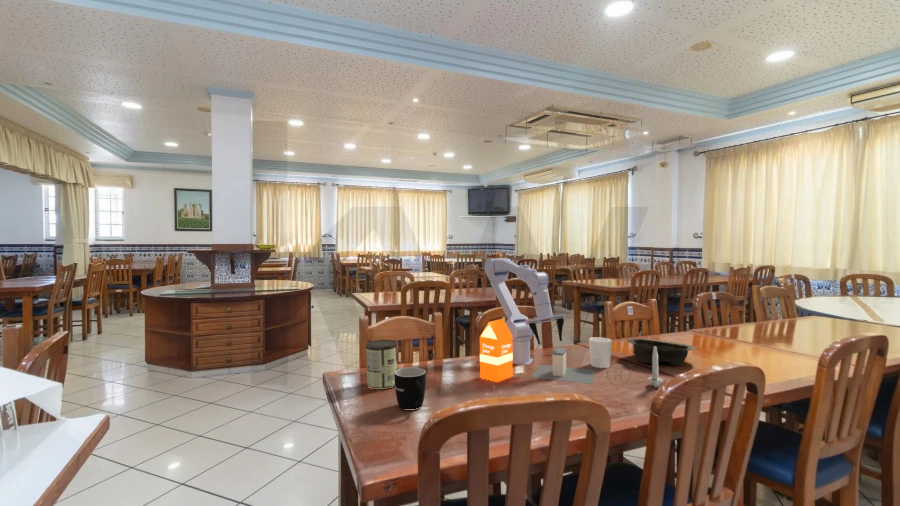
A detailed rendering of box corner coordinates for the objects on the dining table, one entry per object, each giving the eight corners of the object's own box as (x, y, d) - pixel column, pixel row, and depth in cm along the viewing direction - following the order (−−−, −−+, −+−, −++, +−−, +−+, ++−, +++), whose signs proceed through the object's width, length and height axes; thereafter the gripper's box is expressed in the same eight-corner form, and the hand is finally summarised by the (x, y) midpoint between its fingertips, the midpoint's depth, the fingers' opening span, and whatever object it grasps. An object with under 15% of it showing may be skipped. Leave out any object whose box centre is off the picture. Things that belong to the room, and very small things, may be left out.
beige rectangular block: (552, 375, 151) (552, 352, 151) (556, 369, 157) (556, 347, 157) (563, 376, 149) (562, 353, 149) (566, 370, 156) (566, 348, 156)
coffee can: (376, 379, 150) (375, 338, 150) (403, 381, 147) (402, 340, 147) (360, 388, 141) (359, 345, 140) (389, 391, 137) (388, 347, 137)
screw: (655, 389, 136) (643, 384, 141) (667, 387, 138) (654, 382, 142) (655, 348, 136) (643, 345, 140) (667, 346, 138) (654, 343, 142)
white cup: (608, 363, 166) (608, 337, 165) (614, 369, 158) (614, 342, 158) (587, 363, 166) (587, 337, 166) (591, 369, 159) (591, 341, 158)
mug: (390, 404, 127) (389, 370, 126) (418, 398, 131) (418, 365, 131) (406, 419, 116) (405, 381, 116) (436, 412, 120) (435, 376, 120)
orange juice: (479, 378, 150) (479, 320, 149) (495, 372, 156) (494, 317, 155) (498, 383, 144) (497, 323, 144) (513, 377, 151) (512, 319, 150)
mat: (530, 377, 149) (530, 377, 149) (540, 365, 164) (540, 364, 164) (591, 384, 141) (591, 383, 141) (595, 371, 156) (595, 370, 156)
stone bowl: (630, 367, 160) (629, 341, 160) (623, 355, 183) (623, 333, 184) (705, 371, 152) (705, 344, 153) (689, 358, 176) (688, 335, 177)
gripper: (522, 307, 155) (529, 345, 152) (563, 300, 152) (571, 339, 150) (522, 308, 161) (529, 345, 159) (562, 302, 159) (569, 339, 156)
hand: (550, 342), depth 155 cm, fingers open, 7 cm apart
